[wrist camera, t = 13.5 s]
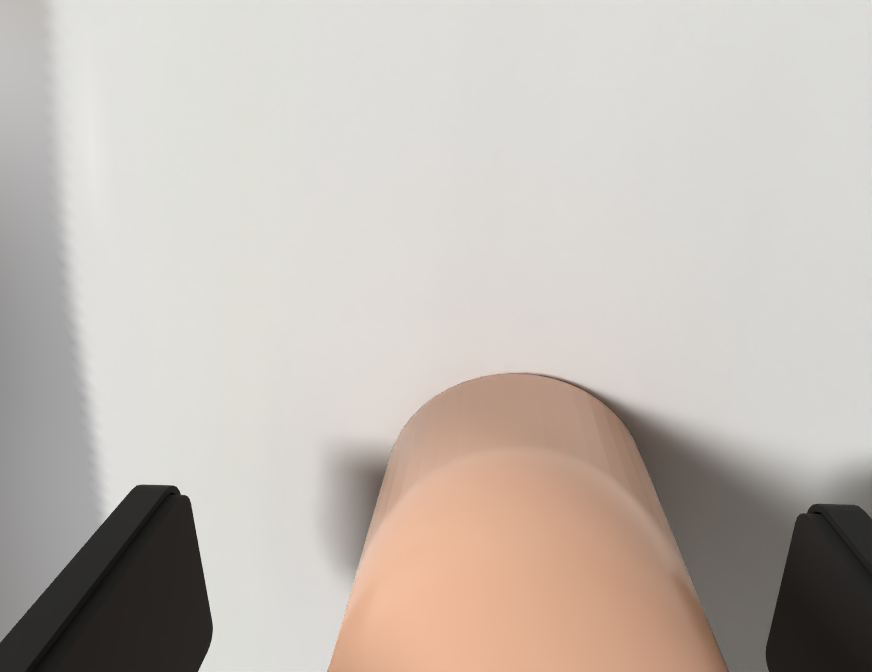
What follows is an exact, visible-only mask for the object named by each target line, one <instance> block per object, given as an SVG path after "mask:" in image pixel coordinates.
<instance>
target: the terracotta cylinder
mask: <svg viewBox="0 0 872 672" xmlns="http://www.w3.org/2000/svg"><path fill="white" fill-rule="evenodd" d="M328 672H729V671H728V669H727V667H726V664H725V662H724V659H723V657H722V654H721V652H720V649H719V647H718V644H717V642H716V639H715V637H714V634H713V632H712V630H711V627H710V625H709V622H708V620H707V617H706V615H705V612H704V610H703V607H702V605H701V602H700V600H699V597H698V595H697V593H696V590H695V588H694V585H693V583H692V580H691V578H690V575H689V573H688V570H687V568H686V565H685V563H684V560H683V558H682V556H681V553H680V551H679V548H678V546H677V543H676V541H675V538H674V536H673V533H672V531H671V528H670V526H669V523H668V521H667V519H666V516H665V514H664V511H663V509H662V506H661V504H660V501H659V499H658V496H657V494H656V491H655V489H654V486H653V484H652V482H651V479H650V477H649V474H648V472H647V469H646V467H645V464H644V462H643V459H642V457H641V454H640V452H639V450H638V448H637V445H636V443H635V441H634V439H633V437H632V435H631V434H630V432H629V431H628V429H627V428H626V426H625V425H624V424H623V422H622V421H621V420H620V419H619V418H618V417H617V416H616V415H615V413H614V412H613V411H611V410H610V409H609V408H608V407H607V406H606V405H604V404H603V403H602V402H601V401H599V400H598V399H596V398H595V397H593V396H592V395H590V394H589V393H587V392H585V391H583V390H581V389H579V388H577V387H575V386H573V385H571V384H568V383H565V382H562V381H559V380H556V379H553V378H548V377H543V376H538V375H530V374H518V373H517V374H497V375H491V376H485V377H480V378H476V379H473V380H469V381H466V382H463V383H461V384H458V385H456V386H454V387H451V388H449V389H447V390H445V391H444V392H442V393H440V394H439V395H437V396H435V397H434V398H432V399H431V400H430V401H428V402H427V403H426V404H425V405H423V406H422V407H421V408H420V409H419V410H418V411H417V412H416V413H415V414H414V415H413V416H412V417H411V418H410V419H409V421H408V422H407V424H406V425H405V426H404V428H403V429H402V430H401V432H400V434H399V436H398V438H397V440H396V442H395V444H394V446H393V449H392V452H391V455H390V458H389V461H388V465H387V468H386V472H385V475H384V478H383V482H382V485H381V489H380V492H379V496H378V499H377V503H376V506H375V509H374V513H373V516H372V520H371V523H370V527H369V530H368V534H367V537H366V541H365V544H364V547H363V551H362V554H361V558H360V561H359V565H358V568H357V572H356V575H355V579H354V582H353V585H352V589H351V592H350V596H349V599H348V603H347V606H346V610H345V613H344V617H343V620H342V623H341V627H340V630H339V634H338V637H337V641H336V644H335V648H334V651H333V654H332V658H331V661H330V665H329V668H328Z"/></svg>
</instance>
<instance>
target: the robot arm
mask: <svg viewBox="0 0 872 672" xmlns="http://www.w3.org/2000/svg"><path fill="white" fill-rule="evenodd" d="M212 632H213V625H212V618H211V613H210V607H209V601H208V596H207V590H206V585H205V579H204V574H203V568H202V563H201V557H200V551H199V546H198V540H197V535H196V529H195V524H194V518H193V513H192V507H191V502H190V499H189V498H188V496H186V495H181V494H180V491H179V490H178V488H177V487H175V486H170V485H138V486H136V487H135V488H133V489H132V490H131V491H130V493H129V494H128V495H127V496H126V497H125V498H124V500H123V501H122V502H121V503H120V504H119V505H118V507H117V508H116V509H115V510H114V511H113V512H112V513H111V515H110V516H109V517H108V518H107V519H106V520H105V522H104V523H103V524H102V525H101V526H100V527H99V529H98V530H97V531H96V532H95V533H94V535H93V536H92V537H91V538H90V539H89V540H88V542H87V543H86V544H85V545H84V546H83V547H82V548H81V550H80V551H79V552H78V553H77V554H76V555H75V557H74V558H73V559H72V560H71V561H70V562H69V564H68V565H67V566H66V567H65V568H64V569H63V570H62V572H61V573H60V574H59V575H58V577H56V579H55V580H54V581H53V582H52V583H51V584H50V586H49V587H48V588H47V589H46V590H45V591H44V593H43V594H42V595H41V596H40V597H39V598H38V600H37V601H36V602H35V603H34V604H33V605H32V607H31V608H30V609H29V610H28V611H27V613H26V614H25V615H24V616H23V617H22V618H21V619H20V620H19V622H18V623H17V624H16V625H15V626H14V627H13V629H12V630H11V631H10V632H9V633H8V634H7V636H6V637H5V638H4V639H3V640H2V642H1V643H0V672H198V670H199V668H200V666H201V664H202V662H203V660H204V658H205V656H206V654H207V652H208V649H209V647H210V643H211V639H212ZM766 661H767V666H768V670H769V672H872V519H871V518H870V517H869V516H868V515H867V514H866V512H865V511H864V510H862V509H861V508H860V507H859V506H855V505H837V504H815V505H812V506H811V507H810V508H809V510H808V512H807V514H804V513H803V514H800V515H799V516H798V517H797V520H796V522H795V527H794V531H793V535H792V540H791V544H790V548H789V552H788V557H787V561H786V565H785V569H784V574H783V578H782V582H781V586H780V591H779V595H778V599H777V603H776V608H775V612H774V616H773V620H772V625H771V629H770V633H769V637H768V642H767V646H766Z"/></svg>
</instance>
